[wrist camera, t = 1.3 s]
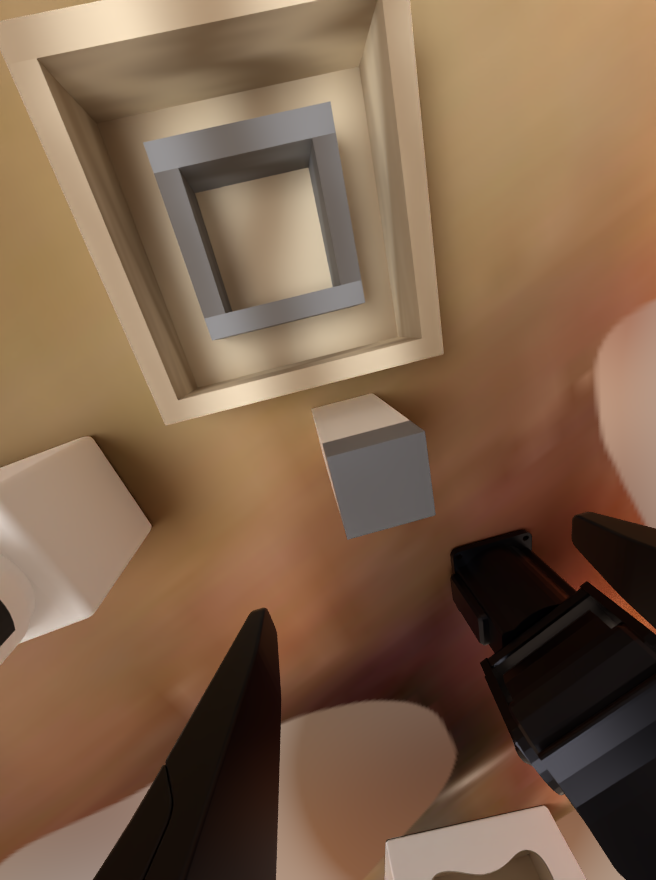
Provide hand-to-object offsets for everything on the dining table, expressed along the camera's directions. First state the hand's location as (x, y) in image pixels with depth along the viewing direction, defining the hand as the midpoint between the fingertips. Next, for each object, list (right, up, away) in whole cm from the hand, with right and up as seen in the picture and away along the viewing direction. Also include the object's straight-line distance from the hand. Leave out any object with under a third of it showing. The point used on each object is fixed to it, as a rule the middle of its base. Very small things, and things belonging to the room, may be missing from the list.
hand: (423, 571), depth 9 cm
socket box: (-6, +14, +8) cm, 17 cm away
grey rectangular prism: (-1, +4, +12) cm, 13 cm away
